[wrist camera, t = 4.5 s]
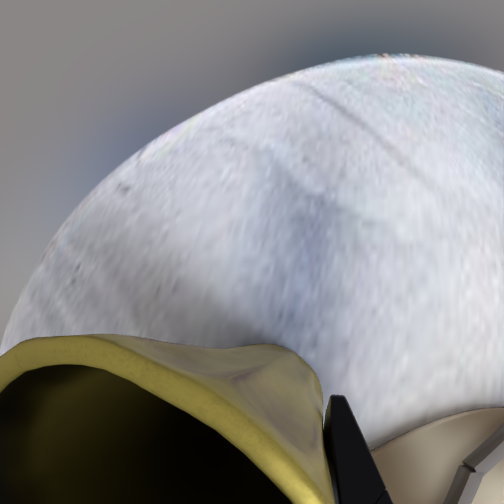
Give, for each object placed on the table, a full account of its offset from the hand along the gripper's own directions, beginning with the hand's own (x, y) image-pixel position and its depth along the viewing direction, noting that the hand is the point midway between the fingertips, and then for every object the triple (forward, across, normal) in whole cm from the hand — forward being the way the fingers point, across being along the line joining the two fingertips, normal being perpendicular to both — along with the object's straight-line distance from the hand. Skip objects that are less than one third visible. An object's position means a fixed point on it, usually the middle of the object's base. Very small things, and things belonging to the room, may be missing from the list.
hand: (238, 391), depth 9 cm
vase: (+4, 0, +6) cm, 7 cm away
